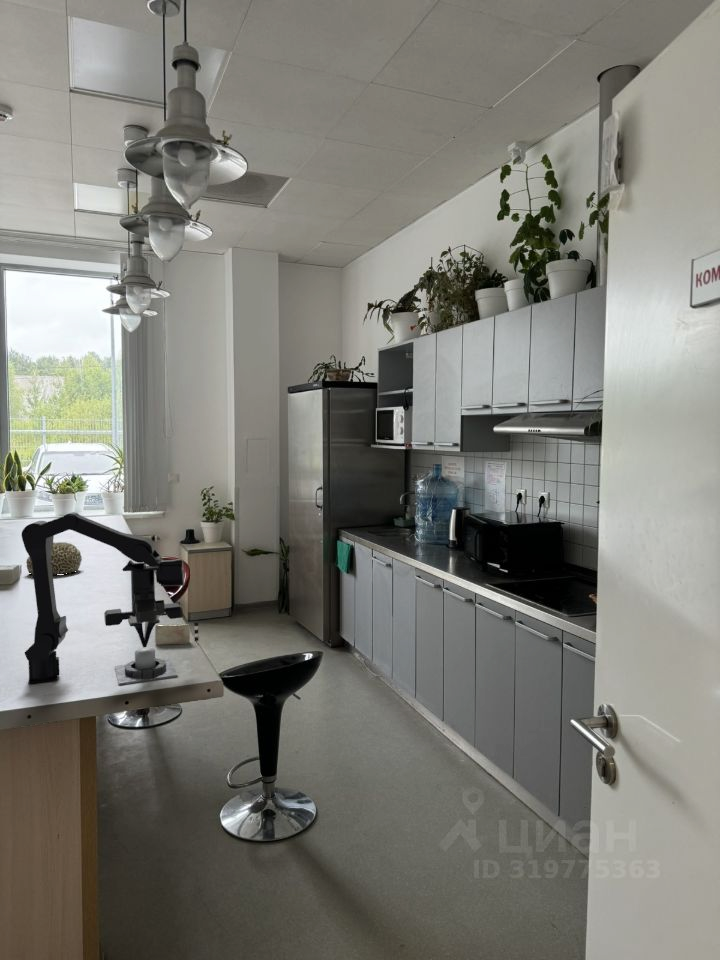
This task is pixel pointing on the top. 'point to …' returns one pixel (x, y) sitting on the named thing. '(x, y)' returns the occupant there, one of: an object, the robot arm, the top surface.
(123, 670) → the notched ring on plate
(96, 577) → the top surface
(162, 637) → the cuneiform tablet
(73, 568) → the coral
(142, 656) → the cap
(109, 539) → the robot arm
